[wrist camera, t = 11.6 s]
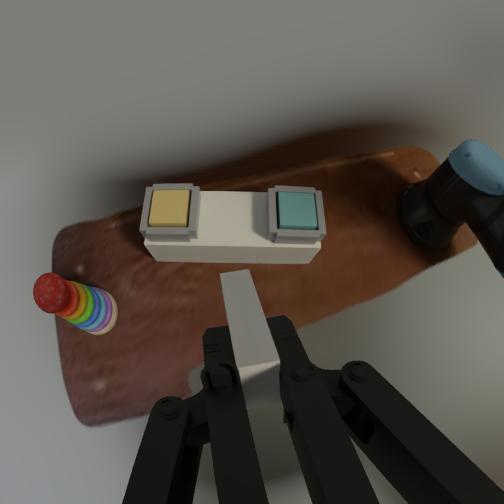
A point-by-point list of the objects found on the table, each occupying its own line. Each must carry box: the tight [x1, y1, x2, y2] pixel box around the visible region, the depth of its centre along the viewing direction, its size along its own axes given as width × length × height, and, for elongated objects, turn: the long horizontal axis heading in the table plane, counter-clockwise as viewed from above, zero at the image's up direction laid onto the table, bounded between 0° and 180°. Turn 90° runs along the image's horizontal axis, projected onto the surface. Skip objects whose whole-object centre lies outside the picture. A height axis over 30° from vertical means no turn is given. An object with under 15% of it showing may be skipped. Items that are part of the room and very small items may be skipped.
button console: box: [139, 184, 326, 264], centre depth 46 cm, size 26×9×11 cm, turn 90°
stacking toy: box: [33, 273, 118, 335], centre depth 36 cm, size 8×8×19 cm
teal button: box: [276, 192, 317, 230], centre depth 43 cm, size 5×5×4 cm
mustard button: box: [149, 190, 191, 227], centre depth 42 cm, size 5×5×4 cm
